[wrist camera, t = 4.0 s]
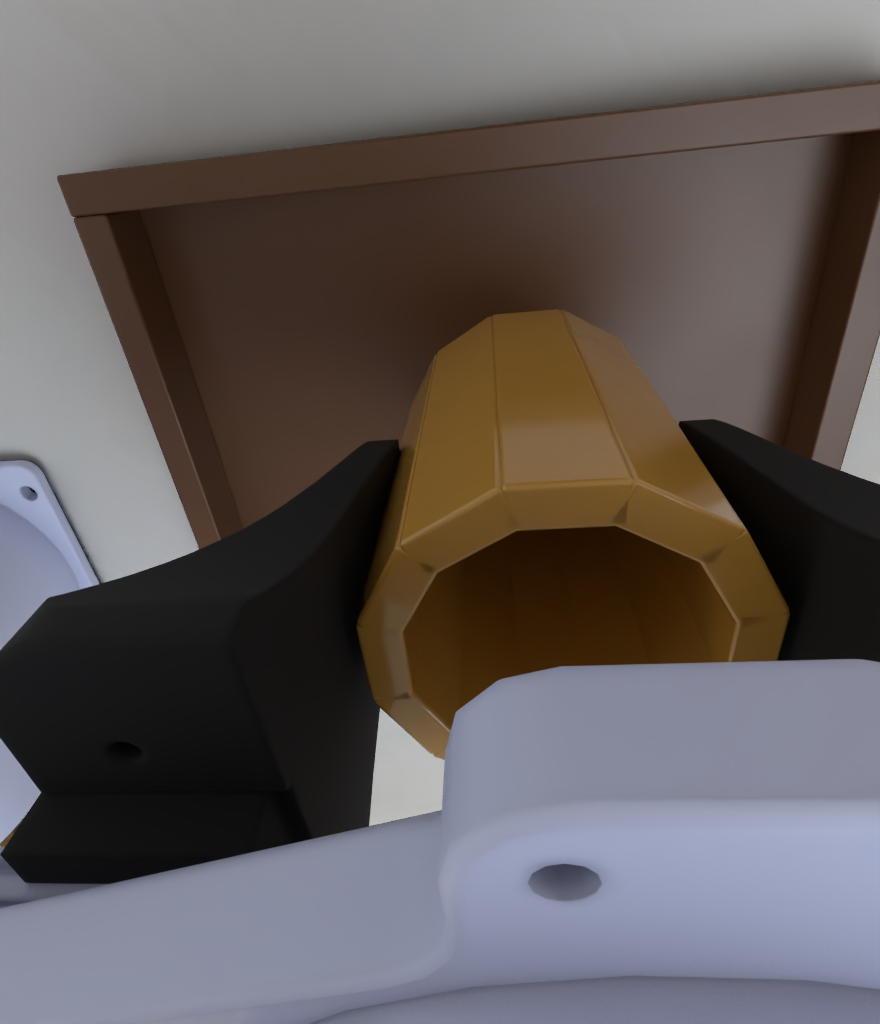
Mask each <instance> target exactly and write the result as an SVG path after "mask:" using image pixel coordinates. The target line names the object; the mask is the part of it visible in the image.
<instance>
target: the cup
mask: <svg viewBox="0 0 880 1024" xmlns="http://www.w3.org/2000/svg"><path fill="white" fill-rule="evenodd" d="M789 618H790V611H789V606H788V604H787V602H786V600H785V598H784V596H783V595H782V593H781V591H780V589H779V587H778V585H777V583H776V582H775V580H774V578H773V576H772V574H771V572H770V570H769V569H768V567H767V565H766V563H765V561H764V559H763V557H762V556H761V554H760V552H759V550H758V548H757V546H756V544H755V543H754V541H753V539H752V537H751V535H750V533H749V531H748V530H747V528H746V527H745V525H744V524H743V522H742V521H741V519H740V518H739V516H738V515H737V513H736V512H735V510H734V509H733V507H732V506H731V504H730V503H729V501H728V500H727V498H726V497H725V495H724V494H723V492H722V491H721V489H720V488H719V486H718V485H717V483H716V482H715V480H714V479H713V477H712V476H711V474H710V472H709V471H708V469H707V468H706V466H705V465H704V463H703V462H702V460H701V459H700V457H699V456H698V454H697V453H696V451H695V450H694V448H693V447H692V445H691V444H690V442H689V441H688V439H687V438H686V436H685V435H684V433H683V432H682V430H681V429H680V427H679V426H678V424H677V423H676V421H675V420H674V418H673V417H672V415H671V414H670V412H669V411H668V409H667V408H666V406H665V405H664V403H663V402H662V400H661V399H660V397H659V396H658V394H657V393H656V391H655V390H654V388H653V387H652V385H651V384H650V382H649V381H648V379H647V378H646V376H645V375H644V373H643V372H642V370H641V368H640V367H639V365H638V364H637V362H636V361H635V359H634V358H633V356H632V355H631V353H630V352H629V350H628V349H627V347H626V346H625V344H624V343H623V341H622V340H620V339H619V337H617V336H615V335H613V334H611V333H609V332H607V331H605V330H603V329H601V328H599V327H597V326H595V325H593V324H591V323H589V322H587V321H585V320H583V319H581V318H579V317H577V316H575V315H573V314H571V313H569V312H567V311H565V310H558V309H555V310H543V311H531V312H519V313H507V314H496V315H493V316H492V317H491V316H490V317H487V318H486V319H484V320H483V321H482V322H480V323H479V324H477V325H476V326H474V327H473V328H471V329H470V330H469V331H467V332H466V333H464V334H463V335H461V336H460V337H458V338H457V339H456V340H454V341H453V342H451V343H450V344H448V345H447V346H445V347H444V348H442V349H441V350H440V351H438V352H437V354H436V355H435V356H434V357H433V360H432V362H431V364H430V366H429V368H428V370H427V373H426V375H425V377H424V379H423V381H422V383H421V386H420V388H419V390H418V392H417V394H416V397H415V399H414V401H413V403H412V405H411V408H410V412H409V416H408V420H407V424H406V428H405V432H404V436H403V440H402V444H401V448H400V452H399V456H398V460H397V464H396V468H395V472H394V476H393V479H392V483H391V487H390V491H389V495H388V499H387V503H386V507H385V511H384V515H383V519H382V523H381V527H380V531H379V535H378V539H377V543H376V547H375V551H374V555H373V559H372V563H371V567H370V571H369V575H368V578H367V582H366V586H365V590H364V594H363V598H362V602H361V606H360V610H359V614H358V618H357V625H356V631H357V635H358V640H359V644H360V648H361V652H362V657H363V661H364V665H365V670H366V674H367V678H368V683H369V687H370V691H371V696H372V699H373V700H374V701H375V702H376V704H377V705H378V706H379V707H380V708H381V709H382V710H383V711H385V712H386V713H387V714H388V715H389V716H390V717H391V718H392V719H393V720H394V721H395V722H397V723H398V724H399V725H400V726H401V727H402V728H403V729H404V730H405V731H406V732H407V733H409V734H410V735H411V736H412V737H413V738H414V739H415V740H416V741H417V742H418V743H419V744H421V745H422V746H423V747H424V748H425V749H426V750H427V751H428V752H429V753H431V754H434V756H435V757H438V758H441V759H444V760H445V750H446V746H447V743H448V739H449V735H450V732H451V728H452V724H453V721H454V717H455V713H456V711H458V710H459V709H460V708H462V707H463V706H464V705H466V704H467V703H468V702H470V701H471V700H472V699H474V698H475V697H476V696H478V695H479V694H480V693H482V692H483V691H484V690H486V689H487V688H488V687H490V686H491V685H492V684H494V683H495V682H496V681H498V680H500V679H503V678H507V677H512V676H517V675H521V674H526V673H531V672H535V671H540V670H545V669H550V668H554V667H559V666H591V665H630V664H670V663H710V662H750V661H777V660H778V657H779V653H780V650H781V646H782V642H783V639H784V635H785V632H786V628H787V625H788V621H789Z"/></svg>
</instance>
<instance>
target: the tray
mask: <svg viewBox="0 0 880 1024" xmlns="http://www.w3.org/2000/svg"><path fill="white" fill-rule="evenodd" d="M57 179H58V182H59V185H60V187H61V190H62V192H63V195H64V198H65V200H66V203H67V205H68V208H69V211H70V213H71V215H72V216H73V217H76V218H74V223H75V225H76V228H77V230H78V233H79V236H80V238H81V241H82V243H83V246H84V249H85V251H86V254H87V257H88V259H89V262H90V264H91V267H92V270H93V272H94V275H95V277H96V280H97V283H98V285H99V288H100V290H101V293H102V296H103V298H104V301H105V304H106V306H107V309H108V311H109V314H110V317H111V319H112V322H113V324H114V327H115V330H116V332H117V335H118V338H119V340H120V343H121V345H122V348H123V351H124V353H125V356H126V358H127V361H128V364H129V366H130V369H131V371H132V374H133V377H134V379H135V382H136V385H137V387H138V390H139V392H140V395H141V398H142V400H143V403H144V405H145V408H146V411H147V413H148V416H149V419H150V421H151V424H152V426H153V429H154V432H155V434H156V437H157V439H158V442H159V445H160V447H161V450H162V452H163V455H164V458H165V460H166V463H167V466H168V468H169V471H170V473H171V476H172V479H173V481H174V484H175V486H176V489H177V492H178V494H179V497H180V500H181V502H182V505H183V507H184V510H185V513H186V515H187V518H188V520H189V523H190V526H191V528H192V531H193V533H194V536H195V539H196V541H197V544H198V547H199V549H201V548H204V547H206V546H208V545H210V544H212V543H214V542H217V541H219V540H221V539H223V538H225V537H227V536H230V535H232V534H234V533H236V532H238V531H240V530H242V529H244V528H245V527H247V526H249V525H251V524H253V523H254V522H256V521H258V520H260V519H261V518H263V517H265V516H267V515H268V514H270V513H271V512H273V511H275V510H276V509H278V508H279V507H281V506H282V505H284V504H285V503H287V502H288V501H290V500H291V499H292V498H294V497H295V496H297V495H298V494H299V493H301V492H302V491H303V490H305V489H306V488H308V487H309V486H310V485H312V484H313V483H315V482H316V481H317V480H319V479H320V478H321V477H322V476H323V475H325V474H326V473H327V472H328V471H330V470H331V469H332V468H333V467H335V466H336V465H337V464H338V463H340V462H341V461H342V460H343V459H344V458H346V457H347V456H348V455H349V454H351V453H352V452H353V451H354V450H356V449H357V448H358V447H359V446H361V445H362V444H364V443H365V442H367V441H379V440H395V439H398V441H399V448H401V444H402V440H403V436H404V432H405V428H406V424H407V420H408V416H409V412H410V408H411V405H412V403H413V401H414V399H415V397H416V394H417V392H418V390H419V388H420V386H421V383H422V381H423V379H424V377H425V375H426V373H427V370H428V368H429V366H430V364H431V362H432V360H433V357H434V356H435V355H436V354H437V352H438V351H440V350H441V349H442V348H444V347H445V346H447V345H448V344H450V343H451V342H453V341H454V340H456V339H457V338H458V337H460V336H461V335H463V334H464V333H466V332H467V331H469V330H470V329H471V328H473V327H474V326H476V325H477V324H479V323H480V322H482V321H483V320H484V319H486V318H487V317H490V316H491V317H492V316H493V315H496V314H507V313H519V312H531V311H543V310H555V309H558V310H565V311H567V312H569V313H571V314H573V315H575V316H577V317H579V318H581V319H583V320H585V321H587V322H589V323H591V324H593V325H595V326H597V327H599V328H601V329H603V330H605V331H607V332H609V333H611V334H613V335H615V336H617V337H619V339H620V340H622V341H623V343H624V344H625V346H626V347H627V349H628V350H629V352H630V353H631V355H632V356H633V358H634V359H635V361H636V362H637V364H638V365H639V367H640V368H641V370H642V372H643V373H644V375H645V376H646V378H647V379H648V381H649V382H650V384H651V385H652V387H653V388H654V390H655V391H656V393H657V394H658V396H659V397H660V399H661V400H662V402H663V403H664V405H665V406H666V408H667V409H668V411H669V412H670V414H671V415H672V417H673V418H674V420H675V421H676V423H677V424H678V425H679V421H690V420H705V419H716V420H719V421H723V422H726V423H728V424H731V425H734V426H736V427H739V428H741V429H743V430H746V431H748V432H750V433H752V434H755V435H757V436H759V437H761V438H764V439H766V440H768V441H770V442H773V443H775V444H777V445H779V446H782V447H784V448H786V449H788V450H791V451H793V452H795V453H798V454H800V455H802V456H805V457H807V458H810V459H812V460H814V461H817V462H819V463H822V464H824V465H827V466H829V467H832V468H835V469H837V470H840V469H841V466H842V462H843V459H844V455H845V452H846V448H847V445H848V442H849V438H850V435H851V431H852V428H853V424H854V421H855V417H856V414H857V411H858V407H859V404H860V400H861V397H862V393H863V390H864V387H865V383H866V380H867V376H868V373H869V369H870V366H871V363H872V359H873V356H874V352H875V349H876V345H877V342H878V338H879V335H880V80H879V81H871V82H862V83H853V84H845V85H836V86H827V87H819V88H810V89H801V90H793V91H784V92H776V93H767V94H758V95H750V96H741V97H732V98H724V99H715V100H706V101H698V102H689V103H681V104H672V105H663V106H655V107H646V108H637V109H629V110H620V111H611V112H603V113H594V114H586V115H577V116H568V117H560V118H551V119H542V120H534V121H525V122H517V123H508V124H499V125H491V126H482V127H473V128H465V129H456V130H447V131H439V132H430V133H422V134H413V135H404V136H396V137H387V138H378V139H370V140H361V141H352V142H344V143H335V144H327V145H318V146H309V147H301V148H292V149H283V150H275V151H266V152H257V153H249V154H240V155H232V156H223V157H214V158H206V159H197V160H188V161H180V162H171V163H162V164H154V165H145V166H137V167H128V168H119V169H111V170H102V171H93V172H85V173H76V174H68V175H59V176H58V177H57Z"/></svg>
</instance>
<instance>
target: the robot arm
mask: <svg viewBox="0 0 880 1024" xmlns="http://www.w3.org/2000/svg"><path fill="white" fill-rule="evenodd" d="M678 426H679V427H680V429H681V430H682V432H683V433H684V435H685V436H686V438H687V439H688V441H689V442H690V444H691V445H692V447H693V448H694V450H695V451H696V453H697V454H698V456H699V457H700V459H701V460H702V462H703V463H704V465H705V466H706V468H707V469H708V471H709V472H710V474H711V476H712V477H713V479H714V480H715V482H716V483H717V485H718V486H719V488H720V489H721V491H722V492H723V494H724V495H725V497H726V498H727V500H728V501H729V503H730V504H731V506H732V507H733V509H734V510H735V512H736V513H737V515H738V516H739V518H740V519H741V521H742V522H743V524H744V525H745V527H746V528H747V530H748V531H749V533H750V535H751V537H752V539H753V541H754V543H755V544H756V546H757V548H758V550H759V552H760V554H761V556H762V557H763V559H764V561H765V563H766V565H767V567H768V569H769V570H770V572H771V574H772V576H773V578H774V580H775V582H776V583H777V585H778V587H779V589H780V591H781V593H782V595H783V596H784V598H785V600H786V602H787V604H788V606H789V611H790V618H789V621H788V625H787V628H786V632H785V635H784V639H783V642H782V646H781V650H780V653H779V657H778V660H777V661H750V662H710V663H670V664H630V665H591V666H559V667H554V668H550V669H545V670H540V671H535V672H531V673H526V674H521V675H517V676H512V677H507V678H503V679H500V680H498V681H496V682H495V683H494V684H492V685H491V686H490V687H488V688H487V689H486V690H484V691H483V692H482V693H480V694H479V695H478V696H476V697H475V698H474V699H472V700H471V701H470V702H468V703H467V704H466V705H464V706H463V707H462V708H460V709H459V710H458V711H456V713H455V717H454V721H453V724H452V728H451V732H450V735H449V739H448V743H447V746H446V750H445V767H444V784H443V802H442V810H441V811H436V812H432V813H427V814H423V815H418V816H413V817H409V818H404V819H400V820H395V821H391V822H386V823H382V824H377V825H373V826H369V819H370V807H371V795H372V783H373V771H374V761H375V751H376V741H377V731H378V721H379V712H380V707H379V706H378V705H377V704H376V702H375V701H374V700H373V699H372V696H371V691H370V687H369V683H368V678H367V674H366V670H365V665H364V661H363V657H362V652H361V648H360V644H359V640H358V635H357V631H356V625H357V618H358V614H359V610H360V606H361V602H362V598H363V594H364V590H365V586H366V582H367V578H368V575H369V571H370V567H371V563H372V559H373V555H374V551H375V547H376V543H377V539H378V535H379V531H380V527H381V523H382V519H383V515H384V511H385V507H386V503H387V499H388V495H389V491H390V487H391V483H392V479H393V476H394V472H395V468H396V464H397V460H398V456H399V452H400V448H399V441H398V439H395V440H379V441H367V442H365V443H364V444H362V445H361V446H359V447H358V448H357V449H356V450H354V451H353V452H352V453H351V454H349V455H348V456H347V457H346V458H344V459H343V460H342V461H341V462H340V463H338V464H337V465H336V466H335V467H333V468H332V469H331V470H330V471H328V472H327V473H326V474H325V475H323V476H322V477H321V478H320V479H319V480H317V481H316V482H315V483H313V484H312V485H310V486H309V487H308V488H306V489H305V490H303V491H302V492H301V493H299V494H298V495H297V496H295V497H294V498H292V499H291V500H290V501H288V502H287V503H285V504H284V505H282V506H281V507H279V508H278V509H276V510H275V511H273V512H271V513H270V514H268V515H267V516H265V517H263V518H261V519H260V520H258V521H256V522H254V523H253V524H251V525H249V526H247V527H245V528H244V529H242V530H240V531H238V532H236V533H234V534H232V535H230V536H227V537H225V538H223V539H221V540H219V541H217V542H214V543H212V544H210V545H208V546H206V547H204V548H201V549H199V550H197V551H195V552H193V553H190V554H188V555H185V556H183V557H180V558H177V559H175V560H172V561H170V562H167V563H164V564H162V565H159V566H156V567H153V568H150V569H147V570H144V571H141V572H138V573H135V574H132V575H129V576H126V577H123V578H120V579H116V580H112V581H109V582H105V583H102V584H100V583H99V581H98V579H97V578H96V576H95V574H94V572H93V570H92V568H91V566H90V564H89V562H88V560H87V558H86V556H85V554H84V552H83V550H82V548H81V546H80V544H79V542H78V540H77V538H76V536H75V534H74V532H73V531H72V529H71V527H70V525H69V523H68V521H67V519H66V517H65V515H64V513H63V511H62V509H61V507H60V505H59V503H58V501H57V499H56V497H55V495H54V493H53V491H52V489H51V487H50V486H49V484H48V482H47V480H46V478H45V476H44V474H43V472H42V471H41V470H40V468H39V467H37V466H36V465H35V464H33V463H31V462H29V461H24V460H16V461H0V843H1V842H2V841H3V840H4V839H5V838H6V837H7V836H8V835H9V834H10V833H11V832H12V831H13V829H14V828H15V827H16V826H17V825H18V824H19V823H20V822H21V820H22V819H23V817H24V816H25V815H26V813H27V812H28V811H29V812H28V813H27V815H26V816H25V818H24V819H23V821H22V822H21V824H20V825H19V827H18V828H17V830H16V831H15V833H14V834H13V836H12V837H11V839H10V840H9V842H8V843H7V845H6V846H5V847H0V1024H880V485H879V484H876V483H873V482H870V481H867V480H864V479H862V478H859V477H856V476H853V475H851V474H848V473H845V472H843V471H840V470H837V469H835V468H832V467H829V466H827V465H824V464H822V463H819V462H817V461H814V460H812V459H810V458H807V457H805V456H802V455H800V454H798V453H795V452H793V451H791V450H788V449H786V448H784V447H782V446H779V445H777V444H775V443H773V442H770V441H768V440H766V439H764V438H761V437H759V436H757V435H755V434H752V433H750V432H748V431H746V430H743V429H741V428H739V427H736V426H734V425H731V424H728V423H726V422H723V421H719V420H716V419H705V420H690V421H679V425H678ZM29 487H30V488H32V489H34V490H35V492H36V493H37V494H36V493H34V492H32V491H31V490H30V488H29ZM39 794H40V795H39ZM37 797H38V798H37ZM35 800H36V801H35ZM33 803H34V804H33ZM32 805H33V806H32ZM31 806H32V807H31ZM30 808H31V809H30ZM29 809H30V810H29Z"/></svg>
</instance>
